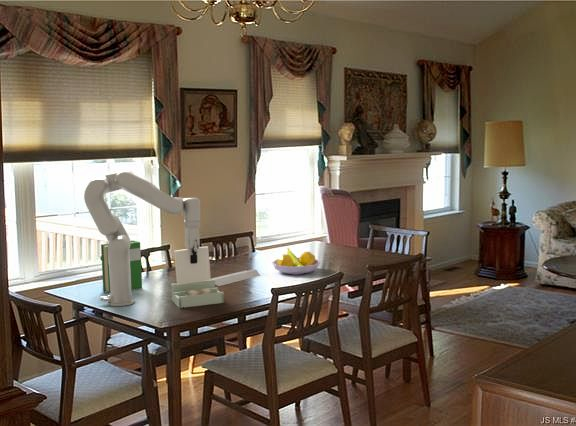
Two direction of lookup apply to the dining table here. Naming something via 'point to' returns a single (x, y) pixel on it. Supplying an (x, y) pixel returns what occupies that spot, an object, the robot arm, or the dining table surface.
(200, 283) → the tray
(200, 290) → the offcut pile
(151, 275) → the dining table surface
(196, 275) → the sheet
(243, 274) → the crown molding
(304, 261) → the fruit bowl
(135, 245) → the hardback book
